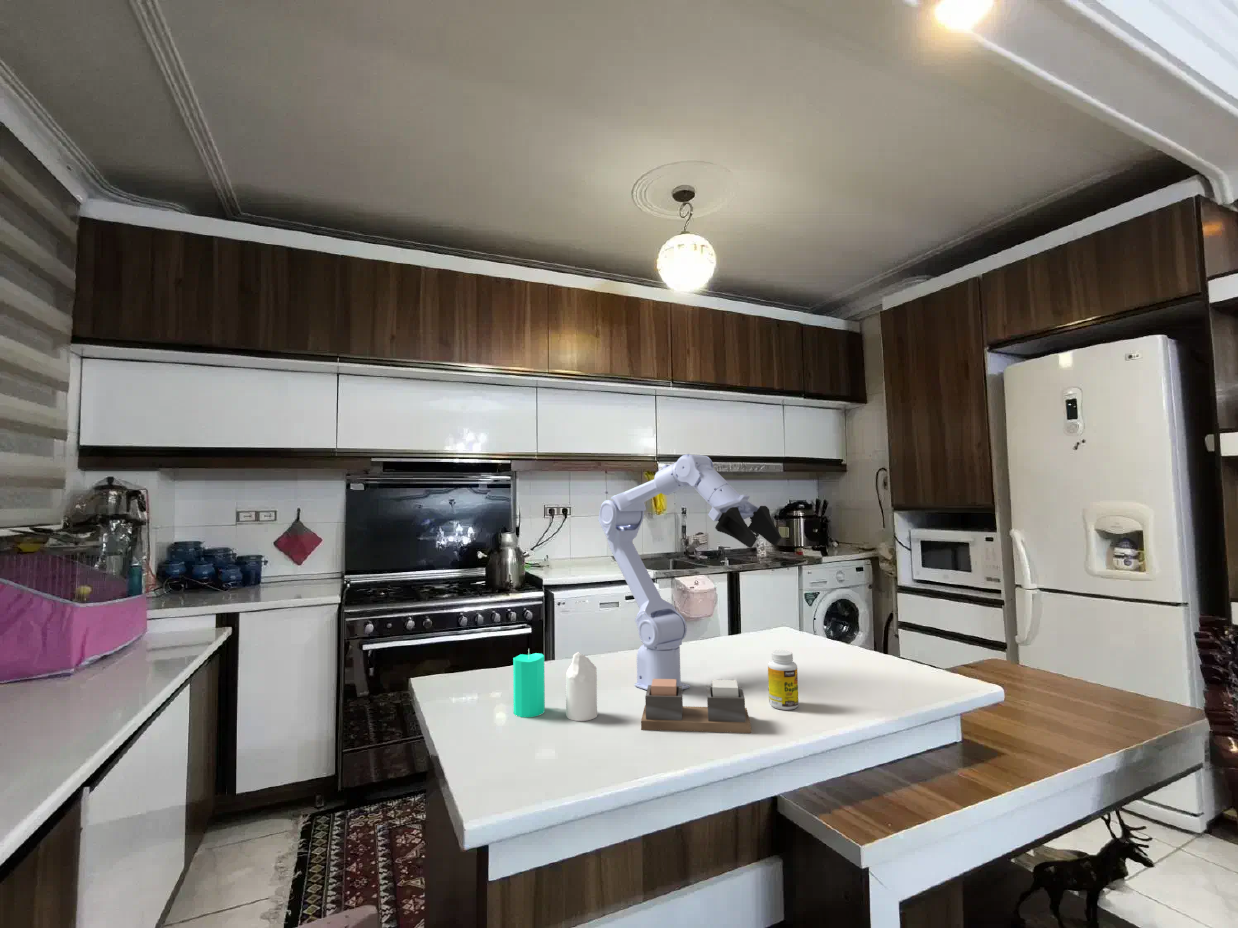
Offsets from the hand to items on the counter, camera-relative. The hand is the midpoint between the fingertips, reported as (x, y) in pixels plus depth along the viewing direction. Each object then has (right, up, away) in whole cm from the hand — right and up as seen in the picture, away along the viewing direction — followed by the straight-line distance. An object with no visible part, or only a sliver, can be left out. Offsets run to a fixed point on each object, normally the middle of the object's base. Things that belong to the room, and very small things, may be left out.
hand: (765, 542), depth 105 cm
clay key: (-19, -28, -1) cm, 34 cm away
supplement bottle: (+5, -33, +6) cm, 34 cm away
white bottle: (-34, -34, +3) cm, 48 cm away
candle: (-45, -34, +6) cm, 56 cm away
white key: (-8, -28, -2) cm, 29 cm away
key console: (-13, -33, -2) cm, 35 cm away
